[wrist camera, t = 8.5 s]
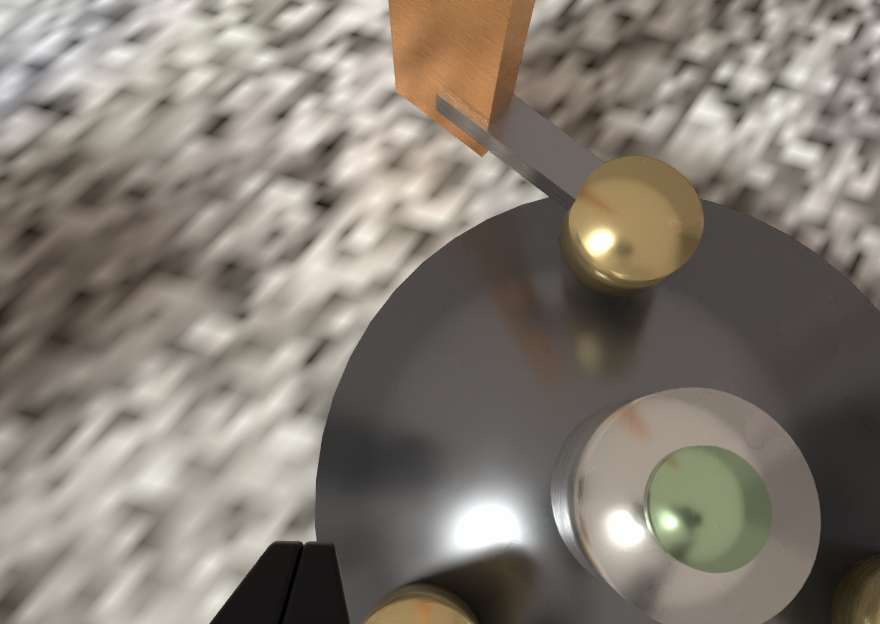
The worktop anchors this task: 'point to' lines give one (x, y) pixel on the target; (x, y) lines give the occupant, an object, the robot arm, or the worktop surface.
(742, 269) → the tribrach plate
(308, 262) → the worktop surface
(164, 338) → the worktop surface
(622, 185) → the lever
